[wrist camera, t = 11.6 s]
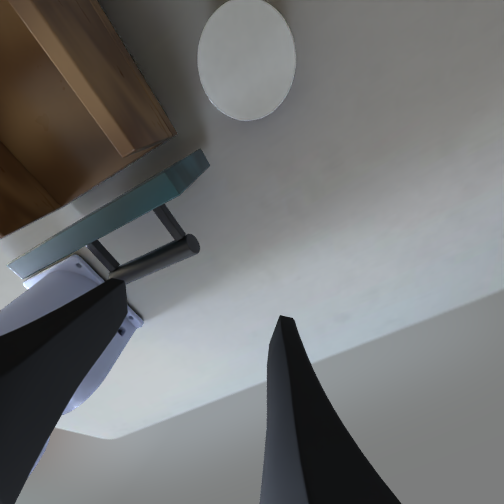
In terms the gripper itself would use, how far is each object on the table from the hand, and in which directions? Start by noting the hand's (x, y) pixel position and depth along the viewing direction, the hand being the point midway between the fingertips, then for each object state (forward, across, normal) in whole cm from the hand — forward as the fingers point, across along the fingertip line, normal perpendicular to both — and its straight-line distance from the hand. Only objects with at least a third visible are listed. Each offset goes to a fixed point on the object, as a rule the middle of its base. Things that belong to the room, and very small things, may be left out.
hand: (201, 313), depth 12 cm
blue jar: (+9, 0, -10) cm, 14 cm away
